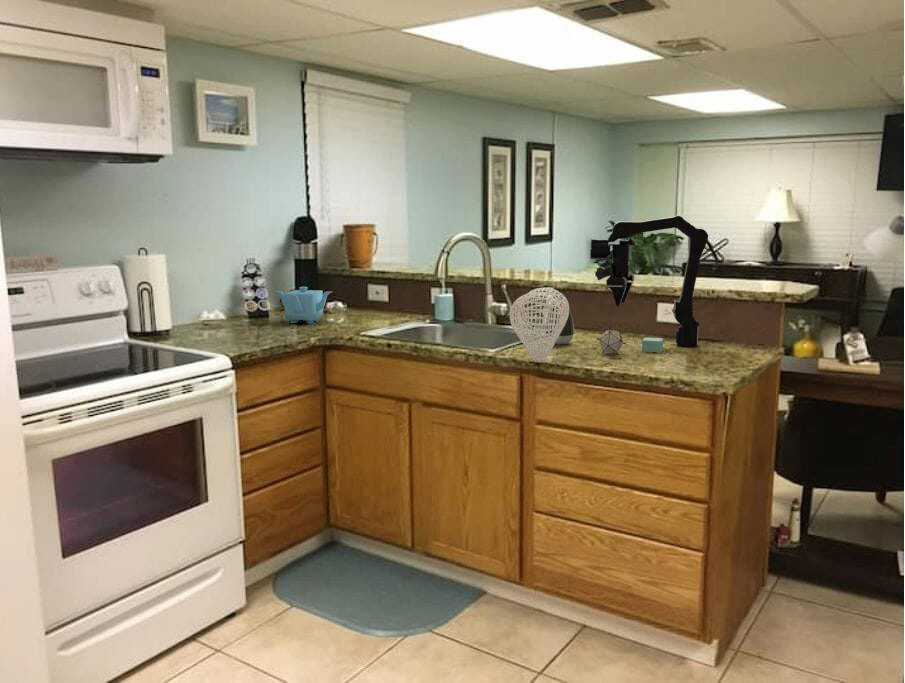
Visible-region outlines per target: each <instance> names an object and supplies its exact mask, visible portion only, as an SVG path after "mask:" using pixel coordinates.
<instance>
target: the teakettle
mask: <svg viewBox="0 0 905 683" xmlns="http://www.w3.org/2000/svg"><path fill="white" fill-rule="evenodd" d="M298 288H299V289H296V290H292V291H289V292H285V293H284V292H283V291H281V290H274V292H275V293H277V294H278V295H279V297H280V299H281V302H282V303H281V304H282V305H283V307H284V321H290V323H297V324H298V322H299V321H298V320H303V321H305V323H306V324H307V323H308V324H307V325H312V324H311V323H314V322H313V321H317V322H320V320H319V318H321V317H323V316H324V307H325V305H326V302H327V299H328V296H329V295H330V294H332V293H333V291H331V290H330V291H325V292H324V293H323V290H320V289H319V290H313V289H312V290H310V289H309V290H308V287H307V286H300V287H298ZM290 323H289V324H290ZM314 324H315V323H314Z"/></svg>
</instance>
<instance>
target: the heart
mask: <svg viewBox="0 0 905 683" xmlns="http://www.w3.org/2000/svg"><path fill="white" fill-rule="evenodd" d="M558 301H559V302H558ZM554 302H555V303H554ZM561 302H562V303H561ZM549 303H550V304H549ZM529 304H531V305H530V306H529ZM534 304H535V305H534ZM553 304H555V305H553ZM560 304H561V305H560ZM525 305H526V306H525ZM563 305H564V306H563ZM554 306H555V307H554ZM561 306H562V307H561ZM538 307H539V308H538ZM542 307H543V309H542ZM551 307H552V311H551ZM556 307H558V309H557V308H556ZM564 307H565V308H564ZM566 307H567V309H566ZM553 308H554V312H553ZM564 309H565V310H564ZM569 309H570V304H569V301H568V299H567V297H566V296H565V295H564V294H563V293H561V291H559V290H557V289H554V288H552V287H540V288H539V287H538V288H534V289H532V290H530V291H529V292H527V293H525V294H523V295H521V296H519V297H518V298H517V299H516V300H514V301H513V303H512V304H511V307H510V310H509V321H510V322H509V323H510V325H511V328H512V330H514V333H515V334H516V336H517V337H518V339H519V340H520V341H521V342H522V345H523V346H524V347H525V349H526V351H527V352H528V353H529V355H530V356H531V358H532V359H533V360H534V361H535V363H536V362H537V363H542V362H544V361H545V359H546V358H547V357H548V356H549V353H550V352H551V351H552V349H553V347H554V345H555V342H556V340H557V339H558V337H559V335H560V333H561V331H562V329H563V328H564V326H565V324H566V321H567V319H568V316H569ZM556 310H557V312H556ZM563 311H564V313H563ZM537 313H538V314H539V316H537ZM542 313H543V316H542ZM546 313H547V316H546ZM548 313H549V318H548ZM550 313H551V318H550ZM552 313H553V314H554V315H553V318H552ZM556 314H557V318H556ZM559 315H560V319H559ZM565 315H566V316H565ZM548 319H549V320H548ZM550 319H551V323H552V320H553V323H552V324H551V323H550ZM533 320H534V322H533ZM537 320H538V322H537ZM546 320H547V323H548V324H546ZM555 320H557V321H556V324H555ZM558 321H559V323H558ZM553 325H554V326H555V328H554V326H553ZM533 326H534V327H533ZM545 326H546V329H545ZM547 326H548V329H547ZM549 326H550V329H549ZM551 326H552V329H551ZM558 326H559V327H558ZM551 330H552V333H550V331H551ZM546 331H548V334H546ZM554 332H555V333H554ZM550 335H551V336H550ZM546 336H548V338H546ZM552 336H553V337H552ZM554 338H555V339H554ZM548 339H549V340H548ZM551 340H552V341H551Z"/></svg>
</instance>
